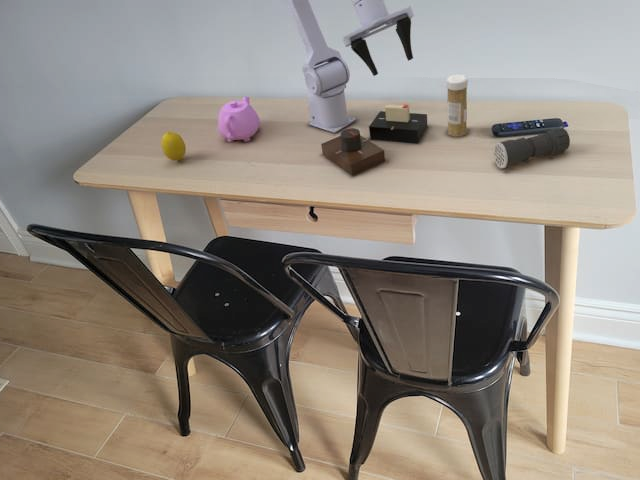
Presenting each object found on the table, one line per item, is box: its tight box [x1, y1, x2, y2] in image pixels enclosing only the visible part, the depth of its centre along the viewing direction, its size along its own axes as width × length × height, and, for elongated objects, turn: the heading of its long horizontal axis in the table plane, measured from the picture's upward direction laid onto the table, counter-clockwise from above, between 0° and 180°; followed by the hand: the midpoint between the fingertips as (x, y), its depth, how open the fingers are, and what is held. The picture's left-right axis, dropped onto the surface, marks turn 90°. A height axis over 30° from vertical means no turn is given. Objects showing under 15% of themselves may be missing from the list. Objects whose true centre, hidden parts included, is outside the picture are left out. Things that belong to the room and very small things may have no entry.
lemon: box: [160, 131, 187, 162], centre depth 141 cm, size 6×6×8 cm
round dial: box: [339, 127, 361, 151], centre depth 130 cm, size 4×4×4 cm
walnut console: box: [320, 134, 386, 177], centre depth 132 cm, size 13×9×3 cm
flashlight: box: [493, 127, 571, 169], centre depth 122 cm, size 15×5×5 cm, turn 105°
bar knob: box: [384, 104, 411, 122], centre depth 136 cm, size 6×2×4 cm, turn 67°
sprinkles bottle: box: [446, 74, 469, 138], centre depth 132 cm, size 5×5×13 cm
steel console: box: [368, 110, 429, 145], centre depth 138 cm, size 12×10×4 cm
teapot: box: [217, 96, 261, 143], centre depth 147 cm, size 10×15×9 cm
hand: (393, 67), depth 116 cm, fingers open, 7 cm apart
